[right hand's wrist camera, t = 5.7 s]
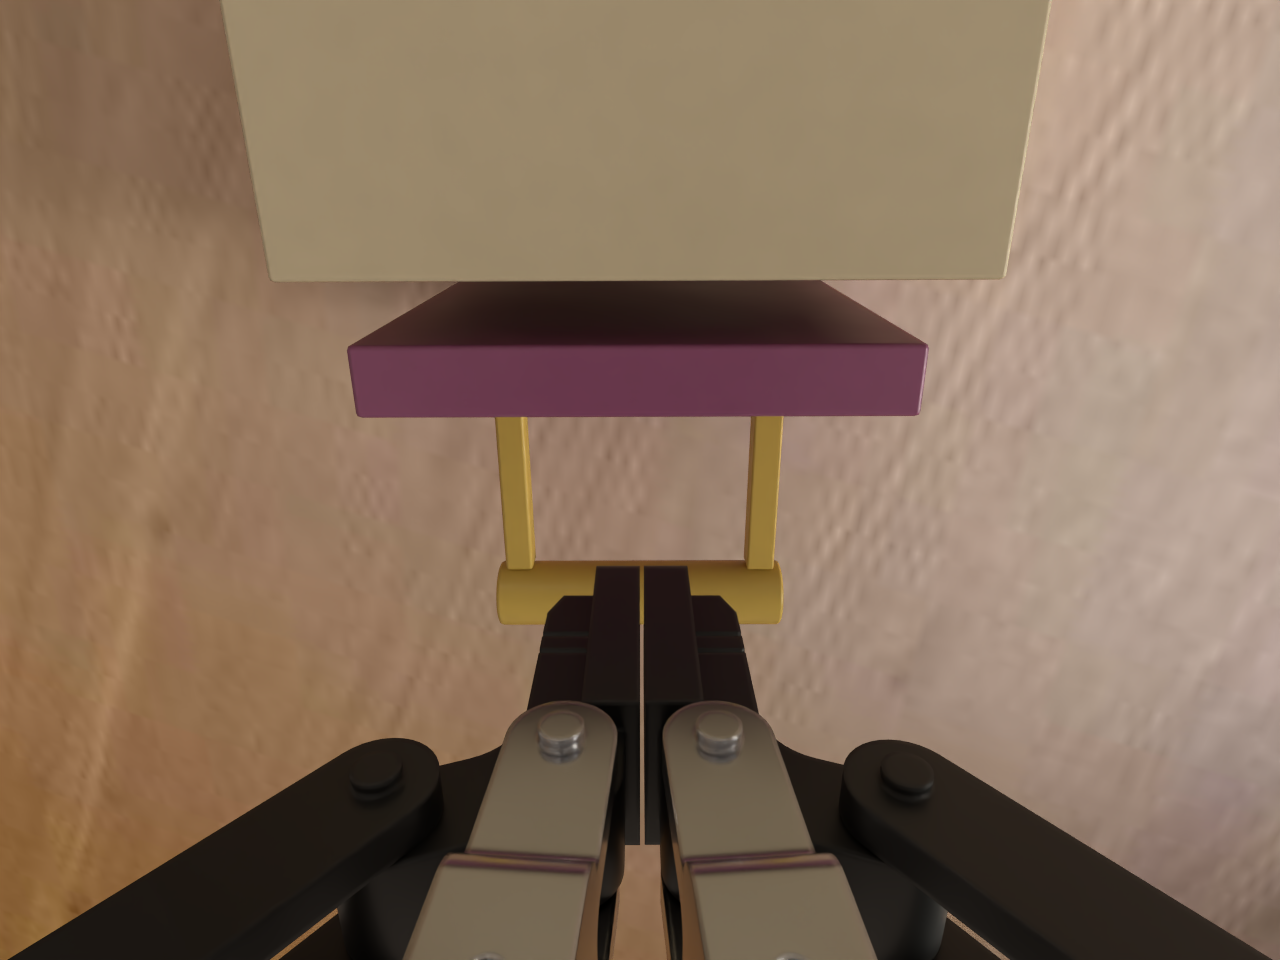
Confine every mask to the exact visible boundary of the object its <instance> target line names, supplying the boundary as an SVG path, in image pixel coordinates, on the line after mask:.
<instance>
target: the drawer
mask: <svg viewBox="0 0 1280 960" xmlns="http://www.w3.org/2000/svg"><path fill="white" fill-rule="evenodd" d="M928 351H929V348H928V345H927V344H926V343H924V342H922V341H921V340H919V339H917V338H916V337H914V336H912V335H911V334H909V333H907V332H906V331H904V330H902V329H901V328H899V327H897V326H896V325H894V324H892V323H891V322H889V321H887V320H886V319H884V318H882V317H881V316H879V315H877V314H876V313H874V312H872V311H871V310H869V309H867V308H866V307H864V306H862V305H861V304H859V303H857V302H856V301H854V300H852V299H851V298H849V297H847V296H846V295H844V294H842V293H841V292H839V291H837V290H836V289H834V288H832V287H831V286H829V285H827V284H825V283H824V282H822V281H820V280H731V281H476V282H458V283H456V284H454V285H453V286H451V287H449V288H448V289H446V290H444V291H442V292H441V293H439V294H437V295H436V296H434V297H432V298H430V299H429V300H427V301H425V302H424V303H422V304H420V305H419V306H417V307H415V308H413V309H412V310H410V311H408V312H407V313H405V314H403V315H401V316H400V317H398V318H396V319H395V320H393V321H391V322H389V323H388V324H386V325H384V326H383V327H381V328H379V329H378V330H376V331H374V332H372V333H371V334H369V335H367V336H366V337H364V338H362V339H360V340H359V341H357V342H355V343H354V344H352V345H350V346H349V347H348V349H347V353H348V360H349V367H350V374H351V381H352V388H353V394H354V401H355V408H356V413H357V416H359V417H362V418H386V417H495V424H496V437H497V450H498V463H499V476H500V489H501V502H502V515H503V528H504V541H505V554H506V561H504V562H502V564H501V566H500V569H499V572H498V579H497V592H496V601H497V613H498V617H499V620H500V623H502V624H504V625H528V624H545V622H546V617H547V613H548V611H549V610H550V609H551V608H552V607H553V606H554V605H555V604H556V603H557V602H558V601H559V600H560V599H561V598H562V597H563V596H564V595H593V591H594V582H595V573H596V566H640V624H644V566H687V567H688V574H689V582H690V590H691V595H720V596H721V597H722V598H723V599H724V600H725V601H726V602H727V603H728V604H729V605H730V606H731V607H732V608H733V609H734V610H735V611H736V612H737V617H738V621H739V624H777V623H779V622H780V620H781V617H782V612H783V580H782V573H781V568H780V566H779V563H778V562H777V561H775V560H774V550H775V535H776V520H777V506H778V491H779V476H780V461H781V446H782V431H783V417H784V416H915V415H919V413H920V410H921V402H922V395H923V388H924V380H925V373H926V366H927V358H928ZM711 416H751V428H750V448H749V467H748V487H747V506H746V526H745V545H744V559H745V560H667V561H535V558H536V554H535V537H534V521H533V505H532V488H531V472H530V455H529V439H528V423H527V417H711Z"/></svg>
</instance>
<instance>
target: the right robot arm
mask: <svg viewBox="0 0 1280 960" xmlns="http://www.w3.org/2000/svg"><path fill="white" fill-rule="evenodd" d="M644 794H645V845H660V858H661V894H660V895H661V910H662V919H663V928H664V937H665V945H666V954H667V960H1001V959H1000V958H998V957H997V956H996V955H995V954H993V953H992V952H991V951H990V950H988V949H987V948H986V947H984V946H983V945H982V944H981V943H979V942H978V941H977V940H975V939H974V938H973V937H972V936H970V935H969V934H968V933H966V932H965V931H964V930H963V929H961V928H960V927H959V926H958V925H956V924H955V923H954V922H952V921H951V920H950V919H949V918H947V912H949V913H951V914H952V915H953V916H955V917H956V918H957V919H958V920H960V921H961V922H962V923H964V924H965V925H966V926H967V927H969V928H970V929H971V930H973V931H974V932H975V933H976V934H978V935H979V936H980V937H982V938H983V939H984V940H986V941H987V942H988V943H989V944H991V945H992V946H993V947H995V948H996V949H997V950H998V951H1000V952H1001V953H1002V954H1004V955H1005V956H1006V957H1007V958H1009V959H1010V960H1272V959H1270V958H1269V957H1267V956H1265V955H1264V954H1262V953H1261V952H1259V951H1257V950H1256V949H1254V948H1252V947H1251V946H1249V945H1248V944H1246V943H1244V942H1243V941H1241V940H1239V939H1238V938H1236V937H1235V936H1233V935H1231V934H1230V933H1228V932H1226V931H1225V930H1223V929H1222V928H1220V927H1218V926H1217V925H1215V924H1213V923H1212V922H1210V921H1209V920H1207V919H1205V918H1204V917H1202V916H1200V915H1199V914H1197V913H1196V912H1194V911H1192V910H1191V909H1189V908H1187V907H1186V906H1184V905H1183V904H1181V903H1179V902H1178V901H1176V900H1174V899H1173V898H1171V897H1170V896H1168V895H1166V894H1165V893H1163V892H1162V891H1160V890H1158V889H1157V888H1155V887H1153V886H1152V885H1150V884H1149V883H1147V882H1145V881H1144V880H1142V879H1140V878H1139V877H1137V876H1136V875H1134V874H1132V873H1131V872H1129V871H1127V870H1126V869H1124V868H1123V867H1121V866H1119V865H1118V864H1116V863H1114V862H1113V861H1111V860H1110V859H1108V858H1106V857H1105V856H1103V855H1101V854H1100V853H1098V852H1097V851H1095V850H1093V849H1092V848H1090V847H1088V846H1087V845H1085V844H1084V843H1082V842H1080V841H1079V840H1077V839H1075V838H1074V837H1072V836H1071V835H1069V834H1067V833H1066V832H1064V831H1062V830H1061V829H1059V828H1058V827H1056V826H1054V825H1053V824H1051V823H1049V822H1048V821H1046V820H1045V819H1043V818H1041V817H1040V816H1038V815H1036V814H1035V813H1033V812H1032V811H1030V810H1028V809H1027V808H1025V807H1023V806H1022V805H1020V804H1019V803H1017V802H1015V801H1014V800H1012V799H1010V798H1009V797H1007V796H1006V795H1004V794H1002V793H1001V792H999V791H997V790H996V789H994V788H993V787H991V786H989V785H988V784H986V783H984V782H983V781H981V780H980V779H978V778H976V777H975V776H973V775H971V774H970V773H968V772H967V771H965V770H963V769H962V768H960V767H958V766H957V765H955V764H954V763H952V762H950V761H949V760H947V759H945V758H944V757H942V756H941V755H939V754H937V753H935V752H933V751H932V750H930V749H927V748H925V747H922V746H920V745H917V744H913V743H910V742H905V741H899V740H877V741H871V742H868V743H865V744H862V745H860V746H858V747H857V748H855V749H854V750H853V751H852V752H851V753H850V754H849V755H848V757H847V758H846V760H845V763H844V765H841V764H837V763H833V762H829V761H825V760H821V759H816V758H813V757H809V756H806V755H803V754H801V753H798V752H796V751H794V750H792V749H790V748H788V747H786V746H784V745H783V744H782V743H780V742H779V741H777V740H776V738H775V735H774V733H773V731H772V729H771V727H770V725H769V724H768V723H767V721H766V720H765V719H764V718H762V717H761V716H760V715H759V713H758V708H757V703H756V699H755V694H754V690H753V685H752V681H751V676H750V672H749V667H748V662H747V658H746V653H745V651H744V644H743V640H742V636H741V630H740V626H739V621H738V617H737V612H736V611H735V610H734V609H733V608H732V607H731V606H730V605H729V604H728V603H727V602H726V601H725V600H724V599H723V598H722V597H721V596H720V595H691V590H690V582H689V574H688V567H687V566H644ZM625 845H640V566H596V573H595V582H594V591H593V595H564V596H563V597H562V598H561V599H560V600H559V601H558V602H557V603H556V604H555V605H554V606H553V607H552V608H551V609H550V610H549V611H548V613H547V617H546V622H545V626H544V631H543V636H542V641H541V646H540V653H539V655H538V660H537V665H536V669H535V674H534V679H533V684H532V688H531V693H530V698H529V703H528V707H527V711H526V712H524V713H523V714H521V715H520V716H519V717H518V718H516V719H515V720H514V721H513V723H512V724H511V725H510V727H509V729H508V731H507V733H506V735H505V738H504V741H503V744H502V745H501V746H500V747H498V748H496V749H494V750H492V751H490V752H488V753H485V754H483V755H480V756H477V757H473V758H470V759H466V760H462V761H458V762H453V763H449V764H445V765H441V766H439V762H438V759H437V757H436V755H435V754H434V753H433V751H432V750H431V749H429V748H428V747H427V746H425V745H424V744H422V743H420V742H417V741H414V740H410V739H404V738H387V739H380V740H374V741H371V742H367V743H364V744H361V745H359V746H356V747H354V748H352V749H350V750H348V751H346V752H344V753H343V754H341V755H339V756H338V757H336V758H335V759H333V760H331V761H330V762H328V763H326V764H325V765H323V766H322V767H320V768H318V769H317V770H315V771H313V772H312V773H310V774H309V775H307V776H305V777H304V778H302V779H300V780H299V781H297V782H296V783H294V784H292V785H291V786H289V787H287V788H286V789H284V790H283V791H281V792H279V793H278V794H276V795H274V796H273V797H271V798H270V799H268V800H266V801H265V802H263V803H261V804H260V805H258V806H257V807H255V808H253V809H252V810H250V811H248V812H247V813H245V814H244V815H242V816H240V817H239V818H237V819H235V820H234V821H232V822H231V823H229V824H227V825H226V826H224V827H222V828H221V829H219V830H218V831H216V832H214V833H213V834H211V835H209V836H208V837H206V838H205V839H203V840H201V841H200V842H198V843H196V844H195V845H193V846H192V847H190V848H188V849H187V850H185V851H183V852H182V853H180V854H179V855H177V856H175V857H174V858H172V859H170V860H169V861H167V862H166V863H164V864H162V865H161V866H159V867H158V868H156V869H154V870H153V871H151V872H149V873H148V874H146V875H145V876H143V877H141V878H140V879H138V880H136V881H135V882H133V883H132V884H130V885H128V886H127V887H125V888H123V889H122V890H120V891H119V892H117V893H115V894H114V895H112V896H110V897H109V898H107V899H106V900H104V901H102V902H101V903H99V904H97V905H96V906H94V907H93V908H91V909H89V910H88V911H86V912H84V913H83V914H81V915H80V916H78V917H76V918H75V919H73V920H71V921H70V922H68V923H67V924H65V925H63V926H62V927H60V928H58V929H57V930H55V931H54V932H52V933H50V934H49V935H47V936H45V937H44V938H42V939H41V940H39V941H37V942H36V943H34V944H32V945H31V946H29V947H28V948H26V949H24V950H23V951H21V952H19V953H18V954H16V955H15V956H13V957H11V958H10V959H8V960H270V959H271V958H273V957H274V956H275V955H276V954H278V953H279V952H280V951H282V950H283V949H284V948H285V947H287V946H288V945H289V944H291V943H292V942H293V941H295V940H296V939H297V938H298V937H300V936H301V935H302V934H304V933H305V932H306V931H307V930H309V929H310V928H311V927H313V926H314V925H315V924H316V923H318V922H319V921H320V920H322V919H323V918H324V917H326V916H327V915H328V914H329V913H331V912H332V911H333V910H335V909H336V908H337V910H338V914H337V915H335V916H334V917H333V918H331V919H330V920H329V921H328V922H326V923H325V924H324V925H323V926H321V927H320V928H319V929H317V930H316V931H315V932H314V933H312V934H311V935H310V936H308V937H307V938H306V939H305V940H303V941H302V942H301V943H299V944H298V945H297V946H296V947H294V948H293V949H292V950H290V951H289V952H288V953H287V954H285V955H284V956H283V957H282V958H280V959H279V960H613V954H614V945H615V937H616V928H617V919H618V910H619V895H620V894H619V886H620V884H621V881H622V878H623V875H624V861H625Z"/></svg>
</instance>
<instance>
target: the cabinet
mask: <svg viewBox="0 0 1280 960" xmlns="http://www.w3.org/2000/svg"><path fill="white" fill-rule="evenodd" d="M219 2H220V7H221V13H222V19H223V24H224V30H225V35H226V41H227V47H228V52H229V58H230V64H231V69H232V75H233V80H234V86H235V92H236V97H237V103H238V108H239V114H240V120H241V125H242V131H243V136H244V142H245V148H246V153H247V159H248V165H249V170H250V176H251V181H252V187H253V193H254V198H255V204H256V209H257V215H258V221H259V226H260V232H261V238H262V243H263V249H264V254H265V260H266V266H267V271H268V277H269V279H270V280H271V281H273V282H476V281H731V280H986V279H1002V278H1004V277H1005V275H1006V272H1007V266H1008V260H1009V254H1010V248H1011V242H1012V236H1013V230H1014V224H1015V218H1016V212H1017V206H1018V200H1019V194H1020V188H1021V182H1022V176H1023V170H1024V164H1025V158H1026V152H1027V146H1028V140H1029V134H1030V128H1031V122H1032V116H1033V110H1034V104H1035V98H1036V92H1037V86H1038V80H1039V74H1040V68H1041V62H1042V56H1043V50H1044V44H1045V38H1046V32H1047V26H1048V20H1049V14H1050V8H1051V2H1052V0H219Z"/></svg>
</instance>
